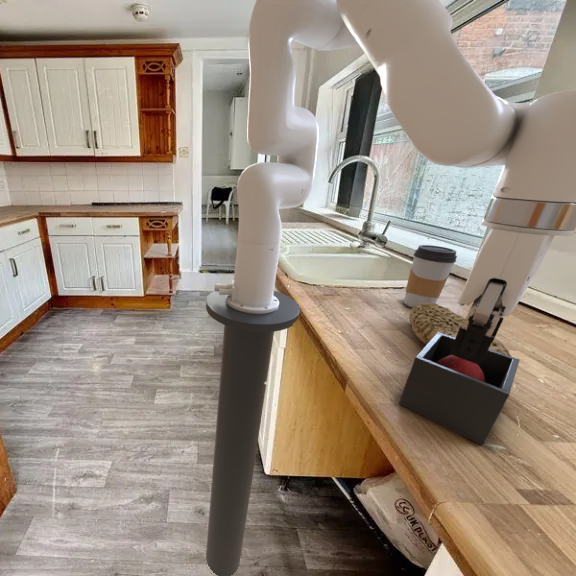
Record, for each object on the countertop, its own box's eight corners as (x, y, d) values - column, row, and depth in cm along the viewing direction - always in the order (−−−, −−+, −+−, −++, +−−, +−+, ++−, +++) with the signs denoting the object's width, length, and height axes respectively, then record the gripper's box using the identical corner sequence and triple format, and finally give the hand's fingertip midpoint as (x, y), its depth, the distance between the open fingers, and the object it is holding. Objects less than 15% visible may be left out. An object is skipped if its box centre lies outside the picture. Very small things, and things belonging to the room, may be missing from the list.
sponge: (398, 325, 70) (414, 351, 53) (414, 295, 68) (437, 311, 51) (466, 352, 65) (509, 390, 48) (486, 319, 63) (539, 346, 46)
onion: (438, 408, 43) (458, 357, 40) (416, 384, 48) (432, 339, 46) (484, 416, 42) (507, 364, 40) (456, 391, 47) (474, 345, 45)
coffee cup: (440, 315, 73) (463, 255, 68) (399, 307, 77) (417, 249, 72) (435, 303, 80) (455, 247, 75) (398, 296, 84) (414, 242, 78)
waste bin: (482, 446, 38) (509, 394, 35) (398, 403, 45) (415, 357, 42) (496, 405, 45) (520, 359, 42) (422, 373, 52) (437, 332, 49)
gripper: (496, 208, 43) (452, 319, 50) (471, 217, 32) (419, 358, 39) (578, 215, 38) (517, 339, 44) (580, 229, 27) (498, 389, 34)
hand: (471, 347), depth 42 cm, fingers open, 7 cm apart
